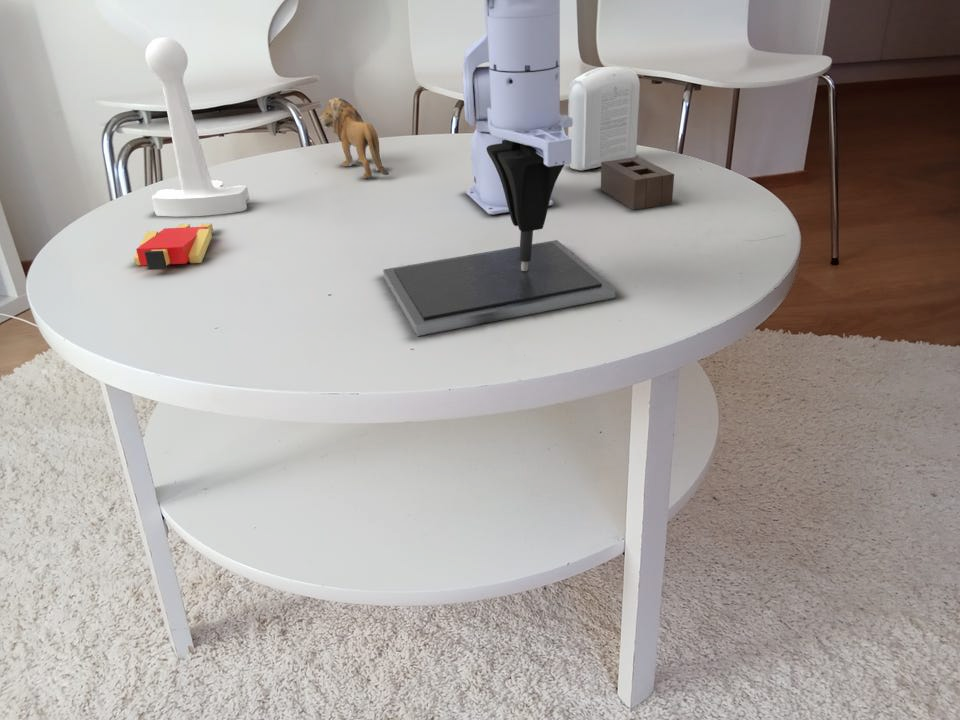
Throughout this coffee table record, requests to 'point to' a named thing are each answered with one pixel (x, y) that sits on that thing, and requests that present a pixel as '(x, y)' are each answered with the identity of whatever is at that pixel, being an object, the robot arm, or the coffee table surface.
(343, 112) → the lion figurine
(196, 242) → the toy figure
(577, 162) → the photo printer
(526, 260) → the stylus
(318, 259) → the coffee table surface
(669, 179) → the holder
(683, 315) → the coffee table surface
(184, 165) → the joystick
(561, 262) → the tablet
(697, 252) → the coffee table surface
